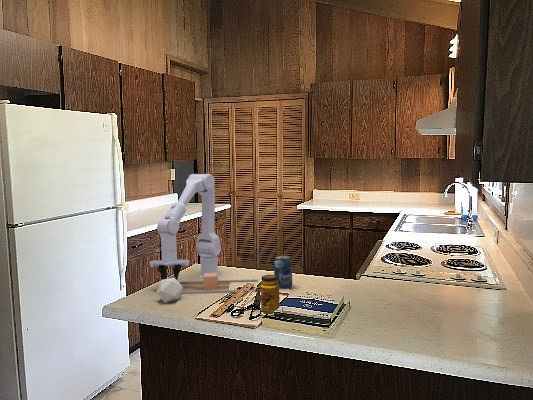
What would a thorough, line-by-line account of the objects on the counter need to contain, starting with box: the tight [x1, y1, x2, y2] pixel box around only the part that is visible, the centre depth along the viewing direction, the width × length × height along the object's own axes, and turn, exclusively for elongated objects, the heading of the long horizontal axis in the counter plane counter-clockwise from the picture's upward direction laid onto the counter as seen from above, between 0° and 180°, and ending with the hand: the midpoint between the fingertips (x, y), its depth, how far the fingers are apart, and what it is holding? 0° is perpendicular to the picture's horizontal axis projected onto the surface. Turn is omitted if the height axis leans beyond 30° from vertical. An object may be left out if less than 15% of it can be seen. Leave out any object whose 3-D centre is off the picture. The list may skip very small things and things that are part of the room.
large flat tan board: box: [167, 275, 231, 291], centre depth 172 cm, size 12×24×4 cm, turn 90°
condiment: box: [260, 274, 281, 314], centre depth 145 cm, size 7×8×12 cm
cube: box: [202, 273, 219, 289], centre depth 172 cm, size 5×5×5 cm
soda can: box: [273, 255, 293, 290], centre depth 171 cm, size 7×7×12 cm
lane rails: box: [177, 278, 259, 296], centre depth 172 cm, size 15×36×1 cm, turn 90°
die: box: [156, 277, 183, 304], centre depth 159 cm, size 8×9×10 cm
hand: (170, 284), depth 172 cm, fingers open, 3 cm apart
